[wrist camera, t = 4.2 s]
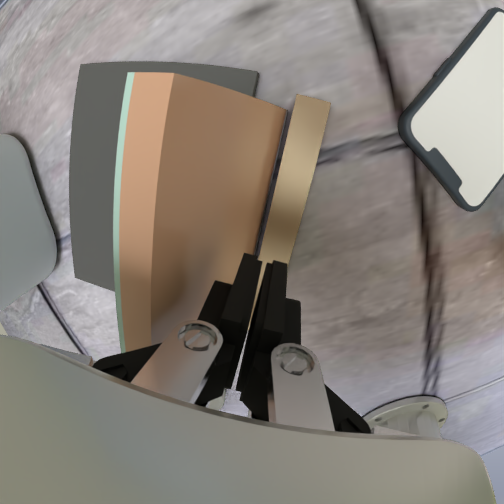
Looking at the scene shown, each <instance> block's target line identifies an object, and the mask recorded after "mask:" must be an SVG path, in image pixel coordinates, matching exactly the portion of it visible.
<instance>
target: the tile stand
mask: <svg viewBox="0 0 504 504" xmlns="http://www.w3.org/2000/svg"><path fill="white" fill-rule="evenodd" d="M330 105H331V103H330V102H326V101H323V100H319V99H315V98H311V97H307V96H303V95H299V94H297V95H296V100H295V104H294V108H293V113H292V117H291V122H290V126H289V130H288V135H287V139H286V143H285V148H284V152H283V156H282V161H281V165H280V169H279V174H278V178H277V182H276V186H275V191H274V195H273V199H272V203H271V208H270V212H269V216H268V220H267V225H266V229H265V233H264V237H263V242H262V246H261V250H260V254H259V258H258V260H260V261H263V262H262V267H261V272H260V276H259V281H258V286H257V290H256V295H255V300H254V304H253V309H252V313H251V318H252V315H253V311H254V307H255V304H256V300H257V297H258V293H259V289H260V286H261V282H262V278H263V275H264V271H265V267H266V264H267V262H268V263H272V262H273V260H276V261H280V262H284V263H287V264H289V261H290V257H291V254H292V250H293V247H294V243H295V240H296V236H297V233H298V229H299V226H300V222H301V218H302V215H303V211H304V208H305V204H306V200H307V196H308V193H309V189H310V185H311V181H312V178H313V174H314V170H315V166H316V162H317V158H318V154H319V150H320V146H321V142H322V138H323V134H324V130H325V126H326V122H327V118H328V114H329V109H330ZM287 114H288V110H286V115H285V119H284V124H283V128H282V132H281V137H280V141H279V146H278V150H277V154H276V159H275V163H274V168H273V172H272V176H271V181H270V185H269V190H268V194H267V198H266V203H265V207H264V212H263V216H262V220H261V225H260V229H259V233H258V238H257V242H256V247H255V251H254V255H255V253H256V249H257V245H258V240H259V236H260V232H261V227H262V223H263V219H264V214H265V210H266V206H267V201H268V197H269V192H270V188H271V184H272V179H273V175H274V171H275V166H276V162H277V158H278V153H279V149H280V144H281V140H282V136H283V131H284V127H285V122H286V118H287ZM287 268H288V265H287ZM251 318H250V322H251ZM250 322H249V326H250ZM249 326H248V330H249Z"/></svg>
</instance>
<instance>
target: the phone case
mask: <svg viewBox="0 0 504 504" xmlns="http://www.w3.org/2000/svg"><path fill="white" fill-rule="evenodd" d="M398 129H399V133H400V136H401V138H402V139H403V140H404V142H405V143H406V144H407V145H408V146H409V147H410V148H411V149H412V150H413V151H414V153H415V154H416V155H417V156H418V157H419V158H420V159H421V160H422V162H423V163H424V164H425V165H426V166H427V167H428V169H429V170H430V171H431V172H432V173H433V174H434V176H435V177H436V178H437V179H438V181H439V182H440V183H441V184H442V186H443V187H444V188H445V189H446V191H447V192H448V193H449V195H450V196H451V197H452V198H453V200H454V201H455V202H456V204H457V205H458V206H460V207H461V208H463V209H464V210H466V211H470V212H473V211H476V210H478V209H479V208H480V207H481V206H482V205H483V204H484V202H485V201H486V200H487V198H488V197H489V196H490V195H491V193H492V192H493V191H494V189H495V188H496V187H497V185H498V184H499V183H500V181H501V180H502V179H503V177H504V10H502V9H500V8H496V7H495V8H492V9H490V10H488V11H487V12H486V14H485V15H484V16H483V17H482V19H481V20H480V21H479V22H478V23H477V25H476V26H475V27H474V28H473V30H472V31H471V32H470V33H469V34H468V36H467V37H466V38H465V39H464V41H463V42H462V43H461V44H460V45H459V47H458V48H457V49H456V50H455V51H454V53H453V54H452V55H451V56H450V58H448V59H447V60H446V61H445V62H444V63H443V65H442V66H441V67H440V68H439V69H438V71H437V72H436V73H435V74H434V77H433V78H432V79H431V80H430V82H429V83H428V84H427V85H426V86H425V88H424V89H423V90H422V91H421V92H420V93H419V95H418V96H417V97H416V98H415V99H414V101H413V102H412V103H411V104H410V105H409V106H408V108H407V109H406V110H405V111H404V112H403V113H402V115H401V116H400V119H399V122H398Z"/></svg>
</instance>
